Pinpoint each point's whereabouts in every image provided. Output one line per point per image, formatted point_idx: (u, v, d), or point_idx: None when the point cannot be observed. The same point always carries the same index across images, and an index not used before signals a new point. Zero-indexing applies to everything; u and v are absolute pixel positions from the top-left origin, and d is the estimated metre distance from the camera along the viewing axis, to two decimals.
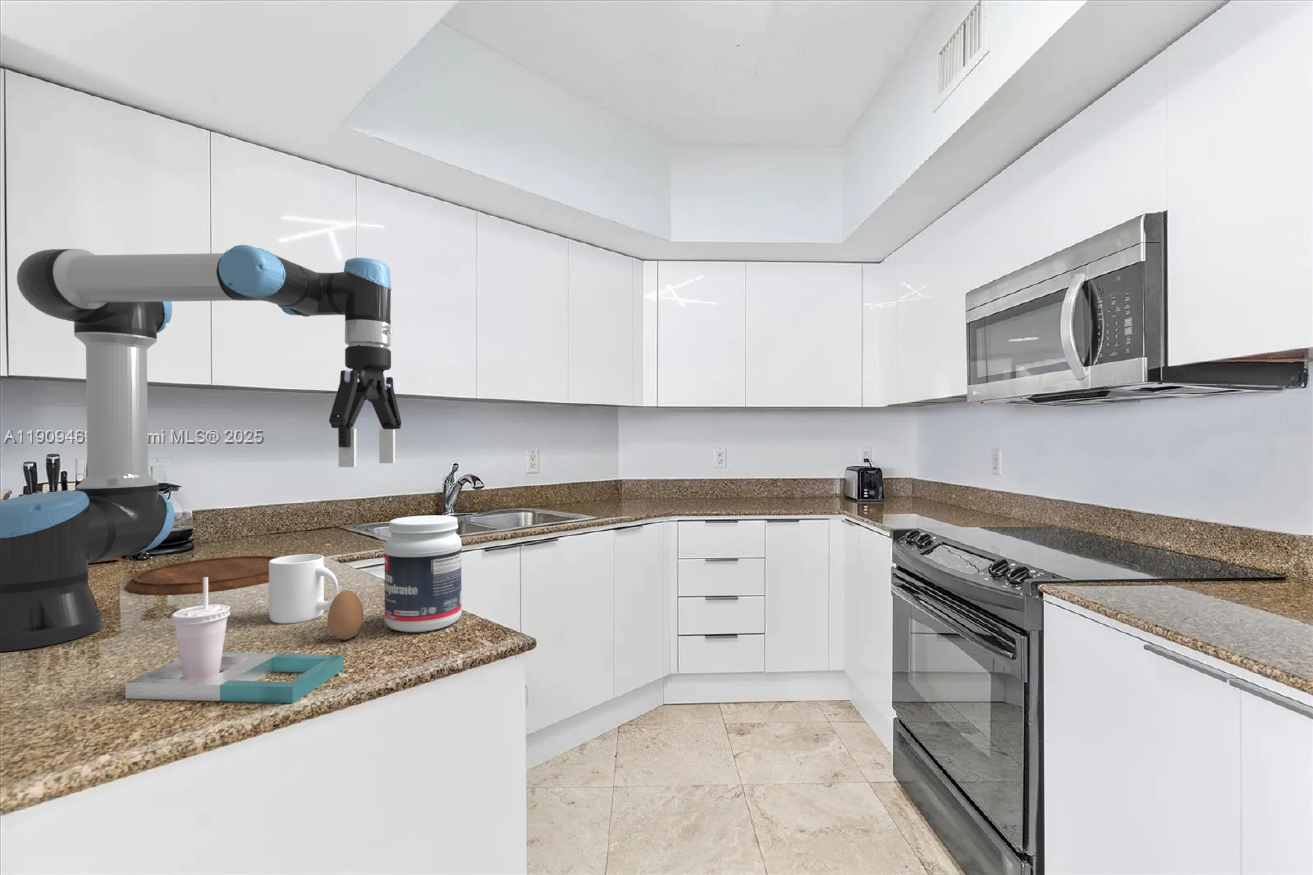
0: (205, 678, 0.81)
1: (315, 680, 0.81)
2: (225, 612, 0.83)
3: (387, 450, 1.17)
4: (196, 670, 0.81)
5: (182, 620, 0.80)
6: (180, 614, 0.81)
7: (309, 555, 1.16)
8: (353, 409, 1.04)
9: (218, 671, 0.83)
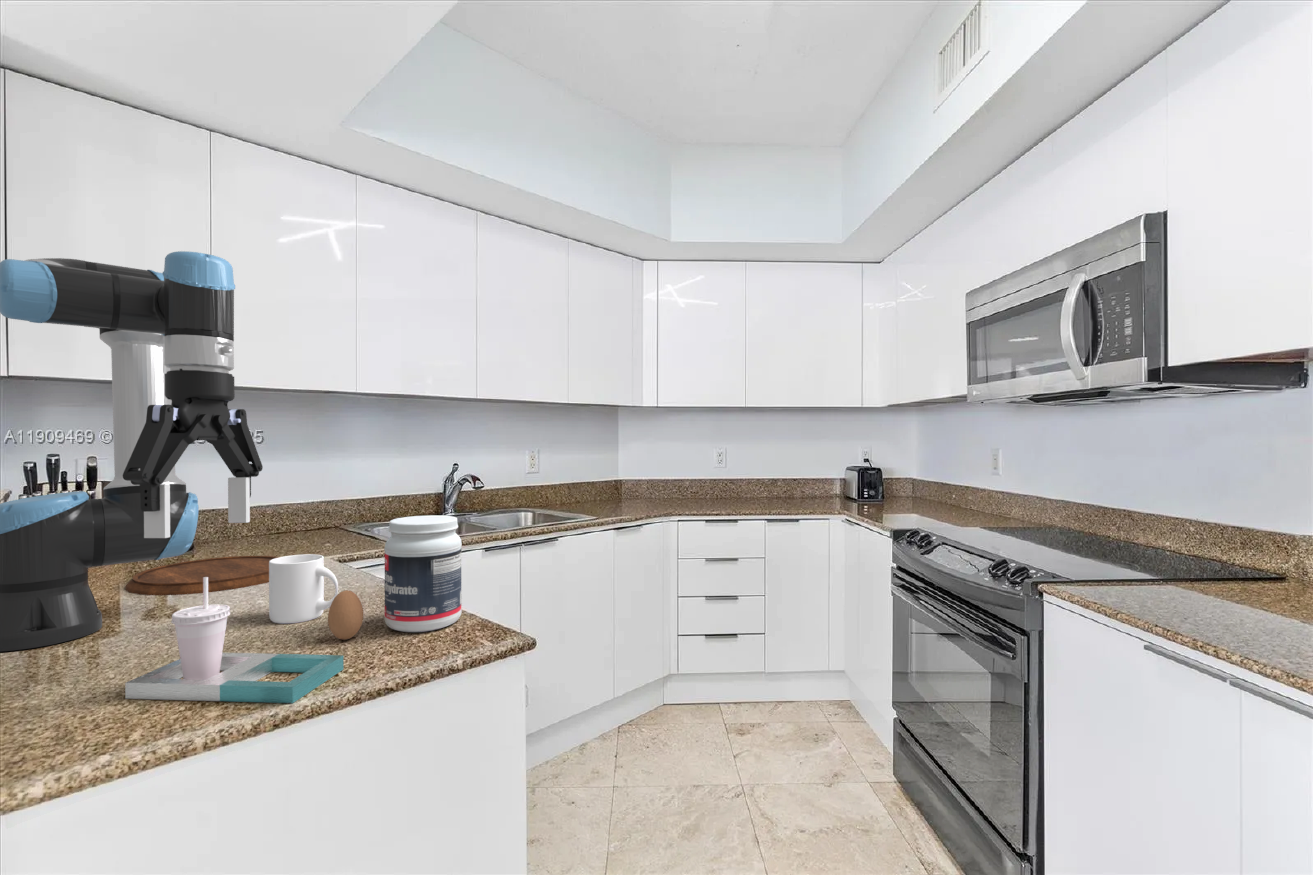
0: (205, 678, 0.81)
1: (315, 680, 0.81)
2: (225, 612, 0.83)
3: (238, 505, 0.89)
4: (196, 670, 0.81)
5: (182, 620, 0.80)
6: (180, 614, 0.81)
7: (309, 555, 1.16)
8: (166, 458, 0.76)
9: (218, 671, 0.83)
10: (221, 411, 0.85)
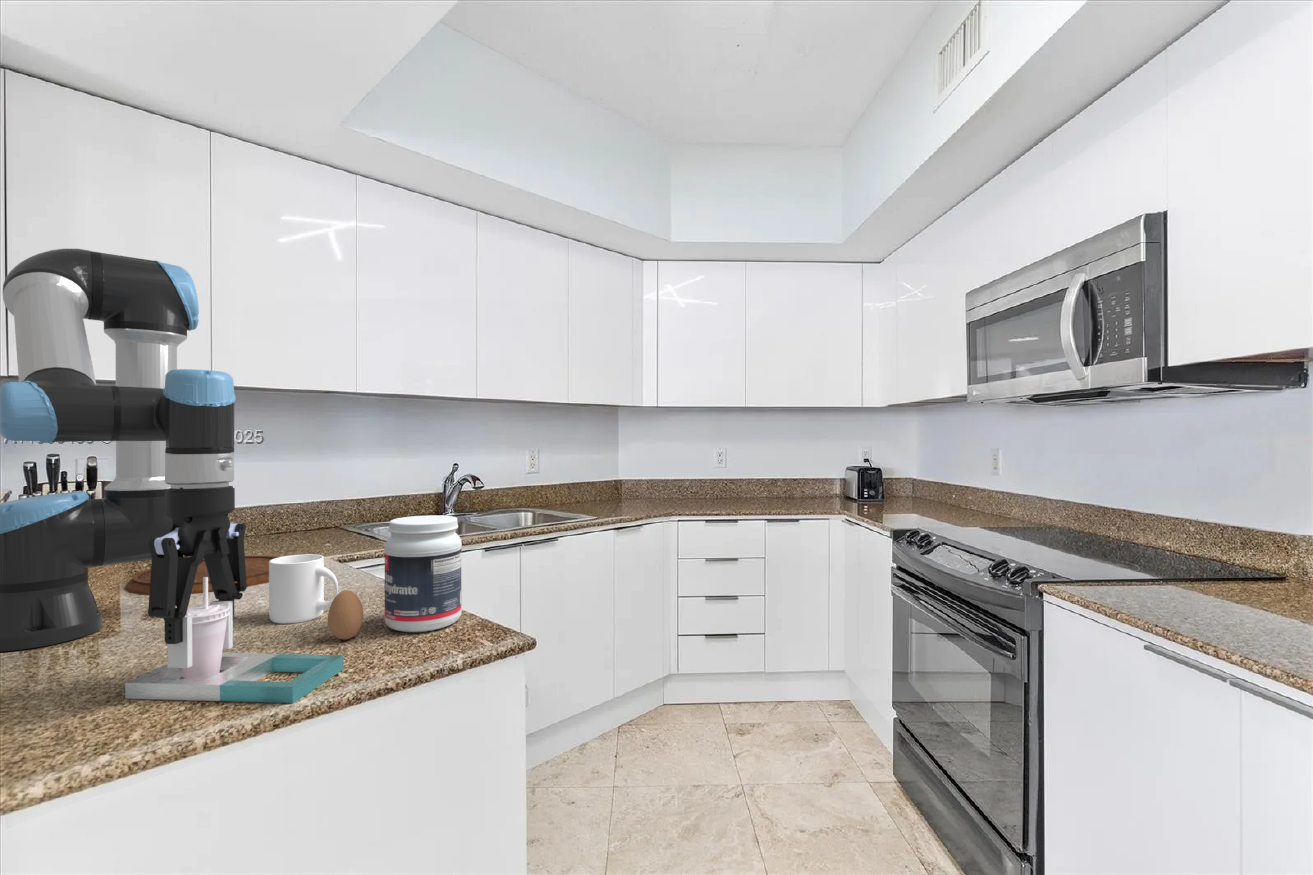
0: (205, 678, 0.81)
1: (315, 680, 0.81)
2: (225, 612, 0.83)
3: None
4: (196, 670, 0.81)
5: None
6: None
7: (309, 555, 1.16)
8: (181, 590, 0.78)
9: (218, 671, 0.83)
10: (223, 520, 0.85)
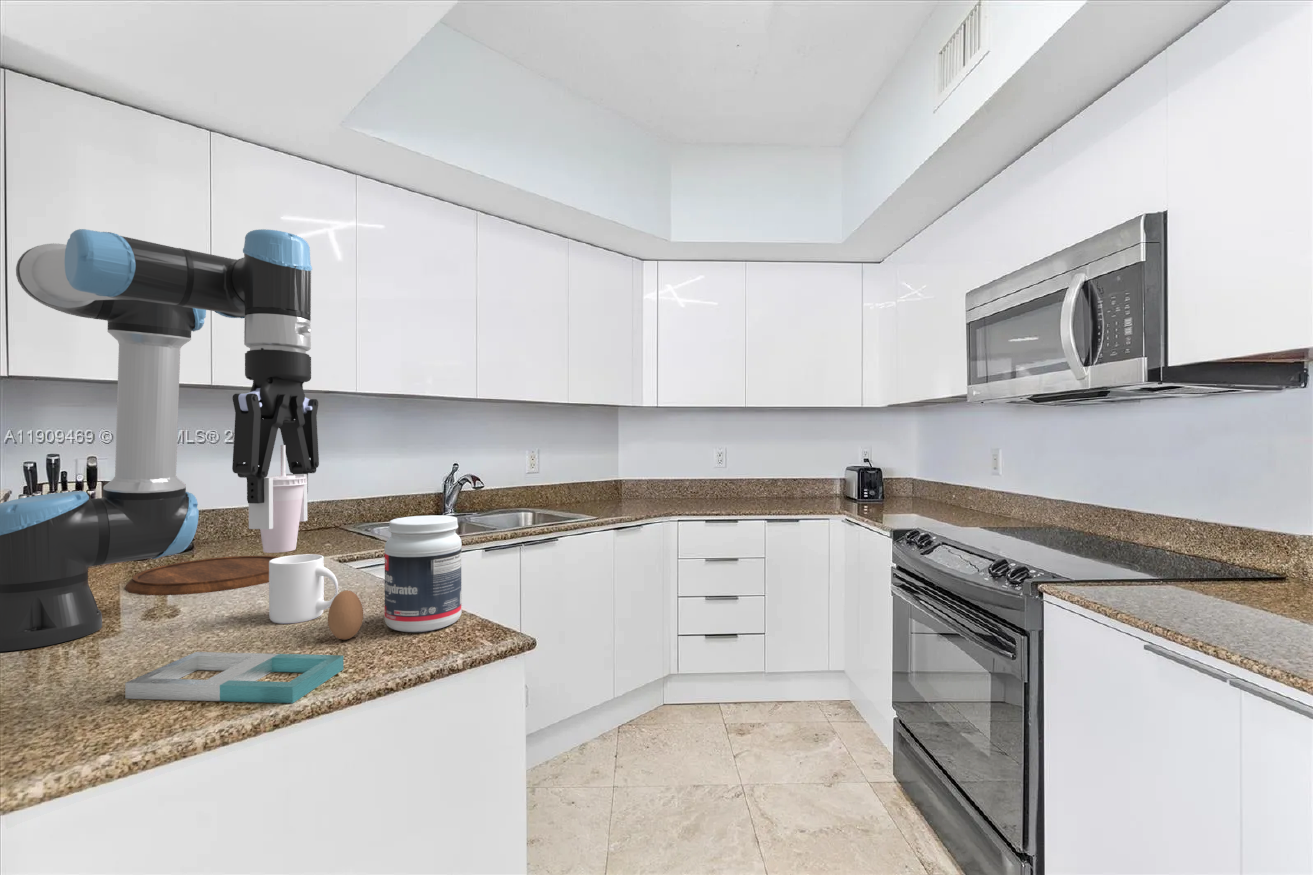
0: (284, 544, 0.81)
1: (315, 680, 0.81)
2: (303, 480, 0.82)
3: None
4: (276, 534, 0.80)
5: None
6: None
7: (309, 555, 1.16)
8: (263, 450, 0.78)
9: (296, 540, 0.82)
10: (298, 390, 0.84)
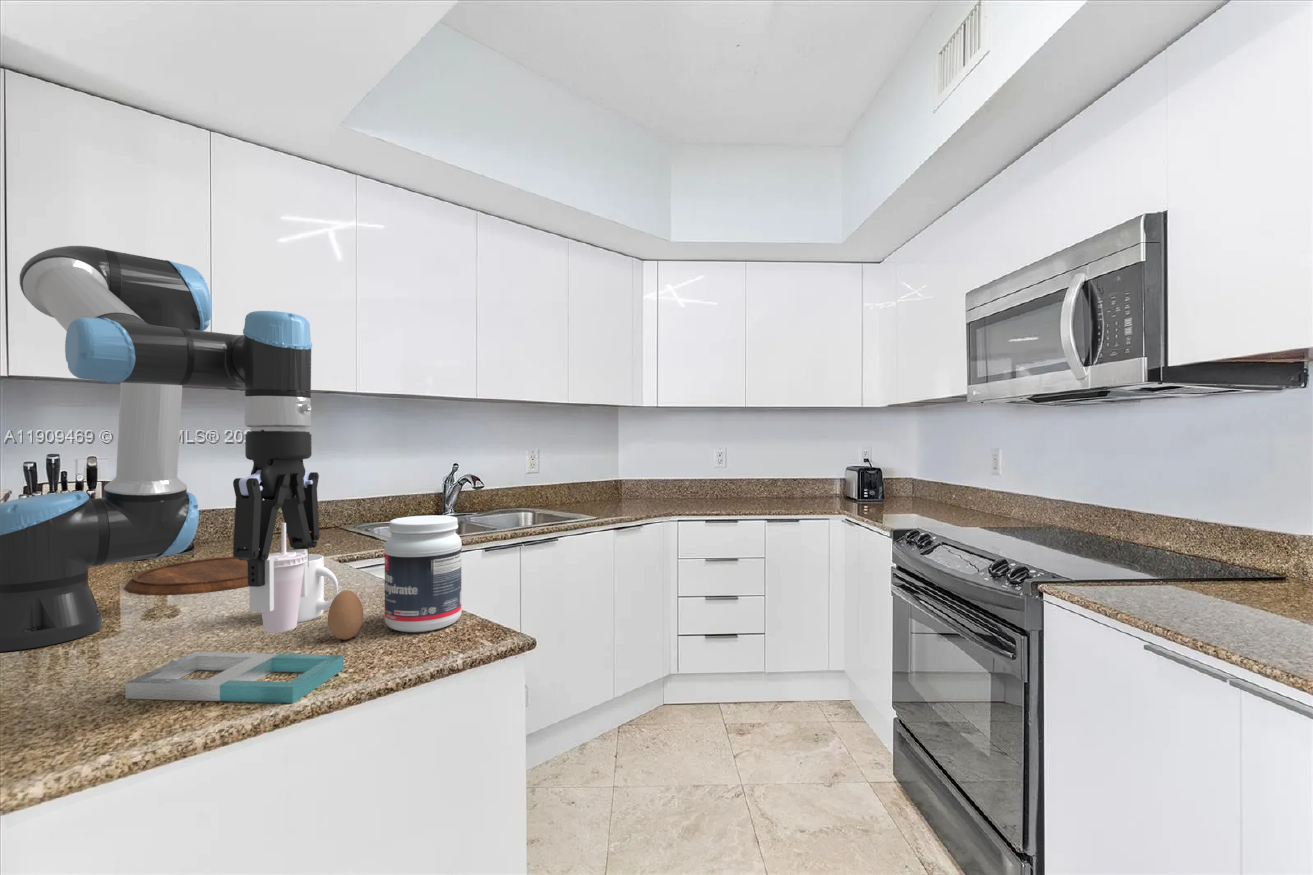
0: (285, 623, 0.81)
1: (315, 680, 0.81)
2: (304, 558, 0.82)
3: None
4: (277, 614, 0.80)
5: None
6: None
7: (309, 555, 1.16)
8: (264, 532, 0.78)
9: (296, 617, 0.82)
10: (299, 466, 0.84)
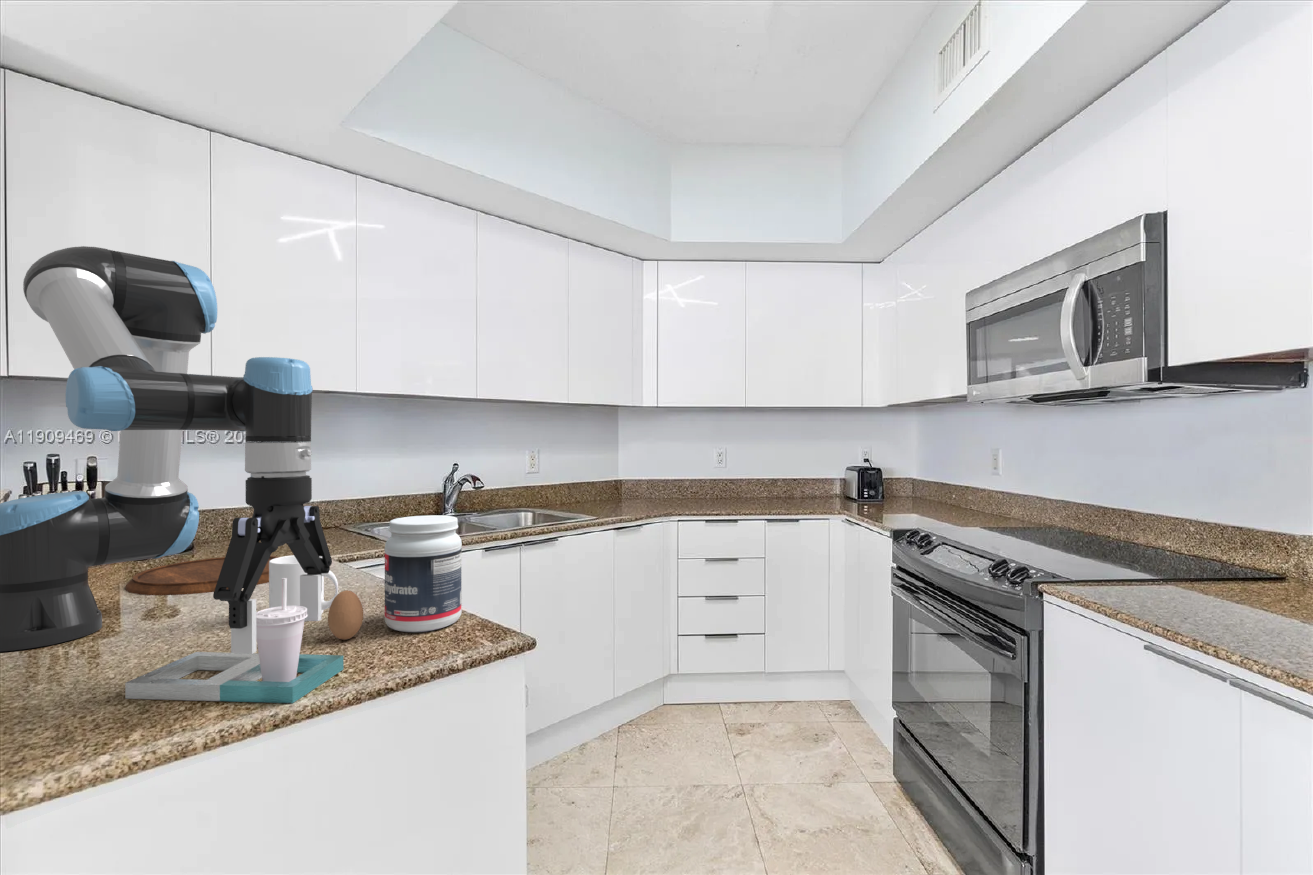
0: (284, 680, 0.81)
1: (315, 680, 0.81)
2: (304, 613, 0.82)
3: (310, 603, 0.88)
4: (276, 672, 0.80)
5: (264, 621, 0.79)
6: (260, 615, 0.80)
7: None
8: (251, 572, 0.76)
9: (296, 673, 0.82)
10: (298, 512, 0.84)
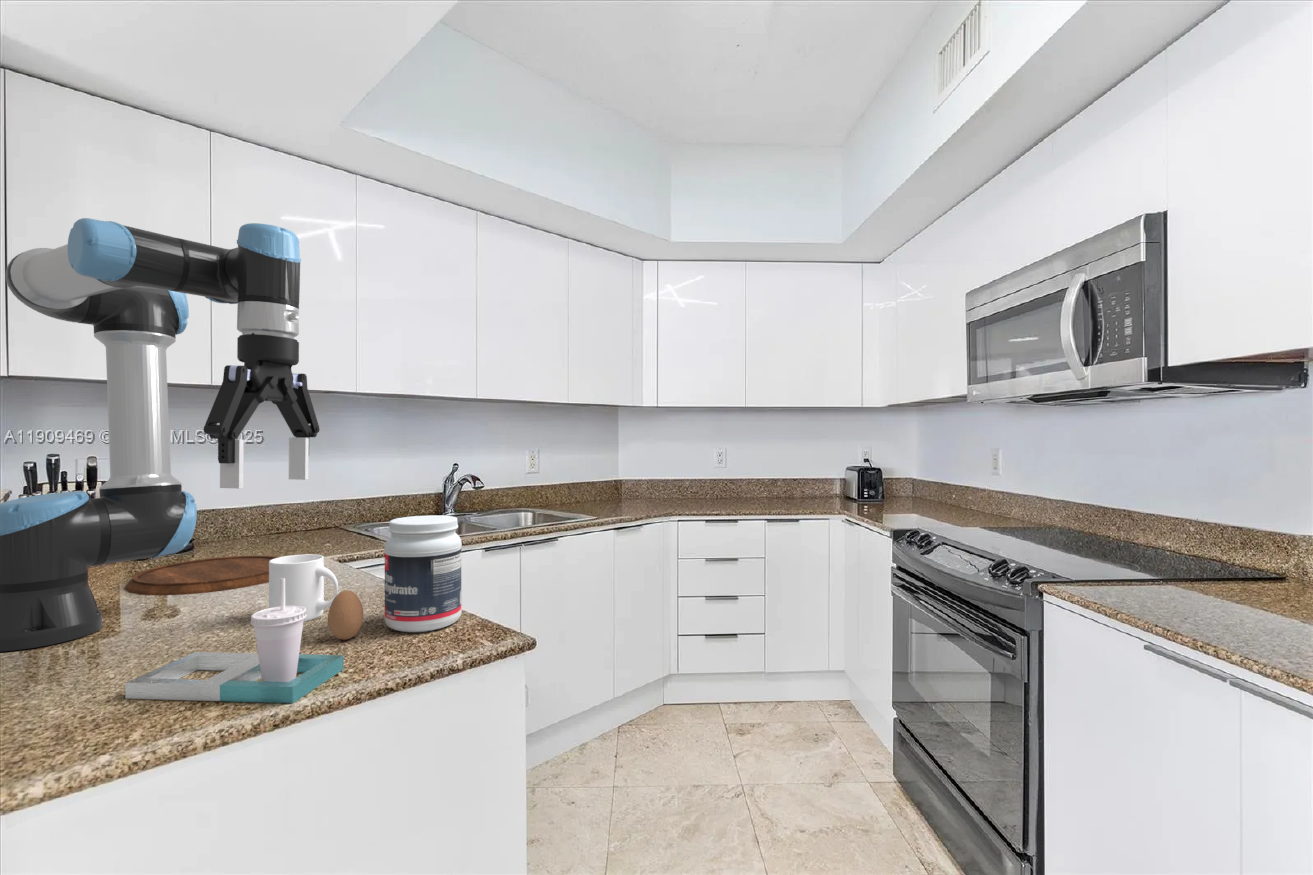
0: (284, 680, 0.81)
1: (315, 680, 0.81)
2: (303, 614, 0.82)
3: (298, 463, 0.95)
4: (276, 672, 0.80)
5: (263, 622, 0.79)
6: (259, 616, 0.80)
7: (309, 555, 1.16)
8: (240, 415, 0.82)
9: (295, 673, 0.82)
10: (286, 374, 0.91)
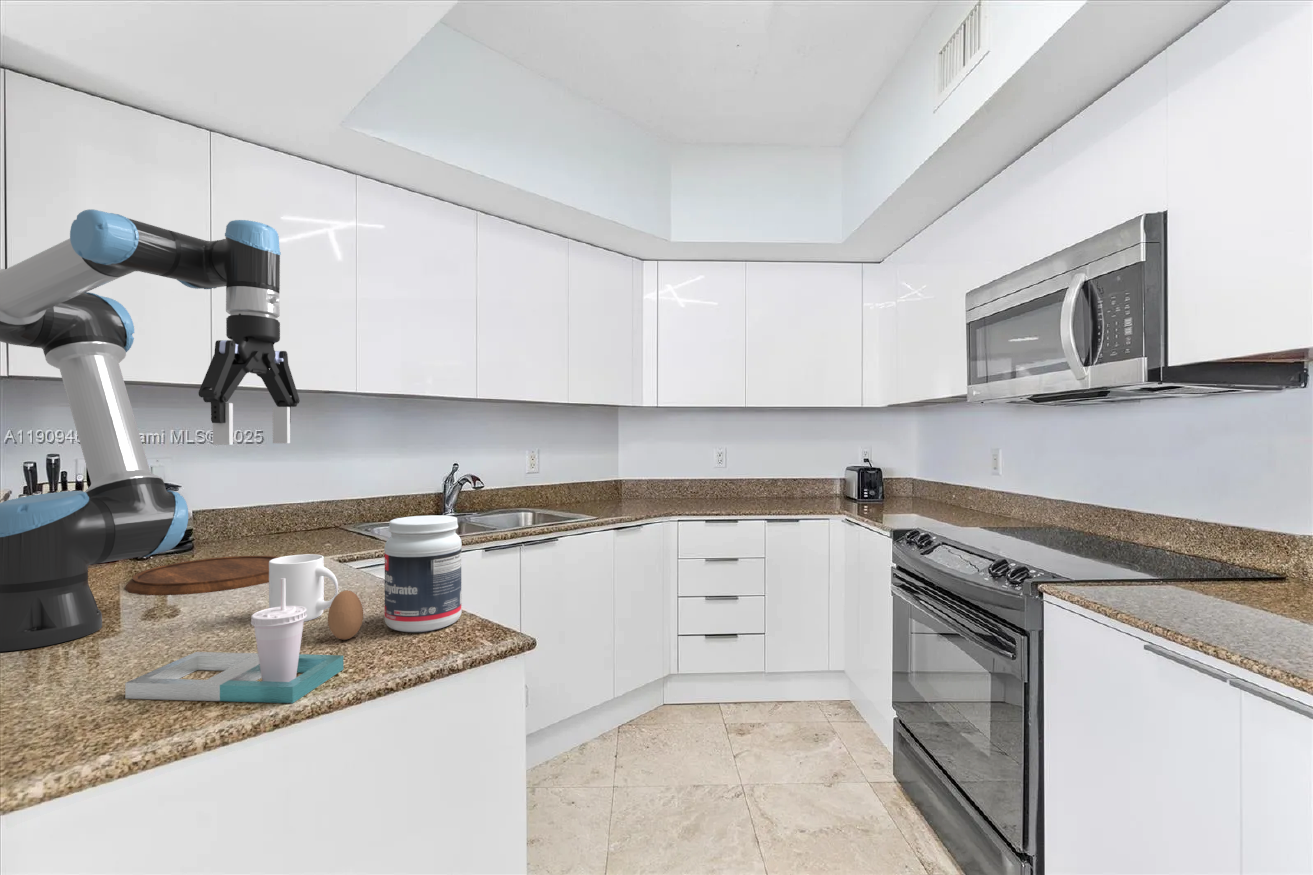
0: (284, 680, 0.81)
1: (315, 680, 0.81)
2: (303, 614, 0.82)
3: (281, 429, 1.09)
4: (276, 672, 0.80)
5: (263, 621, 0.79)
6: (259, 616, 0.80)
7: (309, 555, 1.16)
8: (229, 382, 0.96)
9: (295, 673, 0.82)
10: (269, 350, 1.05)
